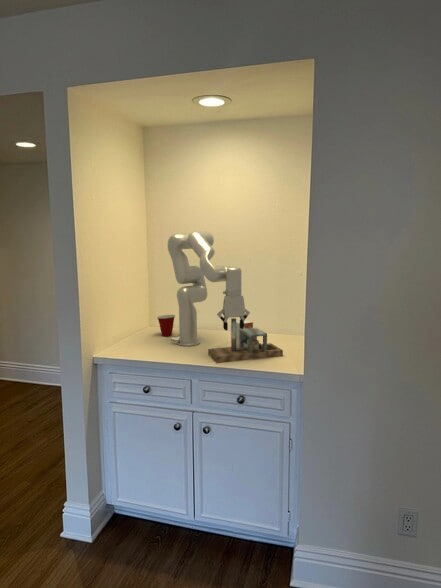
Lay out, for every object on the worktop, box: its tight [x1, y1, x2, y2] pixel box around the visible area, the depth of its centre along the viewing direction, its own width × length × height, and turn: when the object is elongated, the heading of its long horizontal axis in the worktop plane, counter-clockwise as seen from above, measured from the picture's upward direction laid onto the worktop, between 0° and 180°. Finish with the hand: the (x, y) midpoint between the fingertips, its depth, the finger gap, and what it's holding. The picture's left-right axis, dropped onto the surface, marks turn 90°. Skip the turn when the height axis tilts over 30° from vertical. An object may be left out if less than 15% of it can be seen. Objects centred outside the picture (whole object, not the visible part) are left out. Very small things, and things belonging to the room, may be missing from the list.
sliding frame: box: [230, 317, 263, 351], centre depth 210 cm, size 15×7×16 cm, turn 108°
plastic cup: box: [156, 314, 176, 337], centre depth 253 cm, size 11×11×12 cm
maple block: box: [247, 338, 260, 350], centre depth 212 cm, size 4×4×4 cm
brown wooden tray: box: [207, 327, 284, 364], centre depth 210 cm, size 34×14×12 cm, turn 108°
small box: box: [236, 319, 254, 346], centre depth 229 cm, size 8×6×13 cm
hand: (233, 329), depth 208 cm, fingers open, 7 cm apart
